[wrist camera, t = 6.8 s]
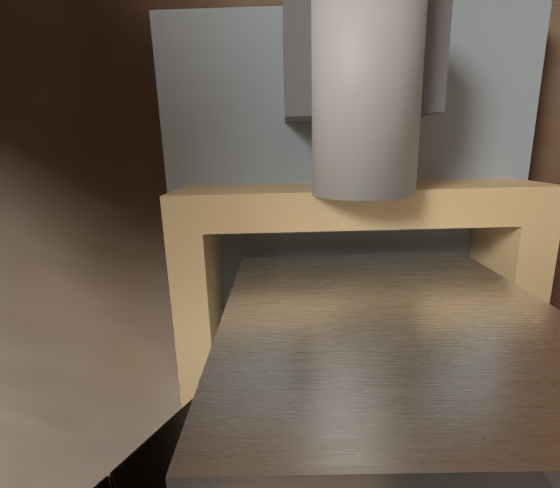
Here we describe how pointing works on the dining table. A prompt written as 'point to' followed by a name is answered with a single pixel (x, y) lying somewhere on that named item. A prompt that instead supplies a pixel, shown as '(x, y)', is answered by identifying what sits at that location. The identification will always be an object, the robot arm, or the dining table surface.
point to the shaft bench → (257, 147)
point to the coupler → (376, 379)
